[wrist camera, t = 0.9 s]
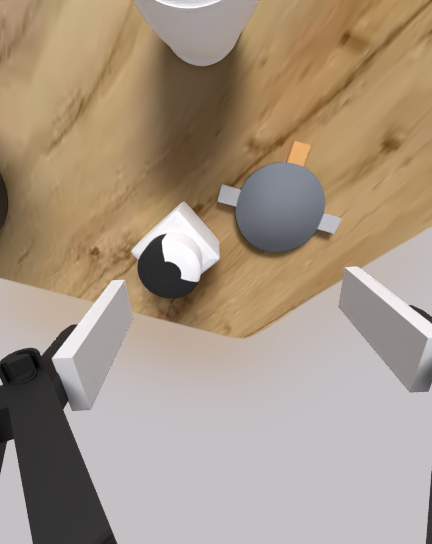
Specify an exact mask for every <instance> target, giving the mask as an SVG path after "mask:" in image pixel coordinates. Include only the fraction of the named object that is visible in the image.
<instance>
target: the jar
mask: <svg viewBox="0 0 432 544" xmlns="http://www.w3.org/2000/svg"><path fill="white" fill-rule="evenodd" d="M133 1H134V3H135V5H136V7H137V9H138V10H139V12H140V14H141V15H142V17H143V18H144V20H145V21H146V22H147V24H148V25H149V26H150V28H151V29H152V30H153V31H154V32H155V33H156V34H157V35H158V36H159V37H160V38H161V39H162V40H163V41H164V42H165V43H166V44H167V45H168V46H170V48H171V49H172V50H173V52H174V53H175V54H176V55H177V56H178V57H179V58H181V59H182V60H183V61H185V62H187V63H189V64H192V65H196V66H208V65H212V64H214V63H217V62H218V61H220V60H222V59H223V58H224V57H225V56H226V55H227V54H228V53H229V52H230V51H231V50H232V49H233V47H234V46H235V44H236V42H237V40H238V38H239V35H240V33H241V32H242V30H243V29H244V27H245V26H246V24H247V23H248V21H249V19H250V18H251V16H252V14H253V12H254V10H255V8H256V6H257V4H258V1H259V0H133Z"/></svg>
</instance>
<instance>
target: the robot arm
mask: <svg viewBox="0 0 432 544" xmlns="http://www.w3.org/2000/svg"><path fill="white" fill-rule="evenodd" d="M6 213H7V194H6V189H5V185H4V182H3V179H2V177H1V175H0V228H1V226H2V224H3V222H4V220H5V217H6ZM339 308H340V309H341V311H342V312H343V313H344V314H345V315H346V317H347V318H348V319H349V320H350V321H351V323H352V324H353V325H354V326H355V327H356V329H357V330H358V331H359V332H360V333H361V335H362V336H363V337H364V338H365V339H366V340H367V342H368V343H369V344H370V345H371V347H372V348H373V349H374V350H375V351H376V353H377V354H378V355H379V356H380V357H381V359H382V360H383V361H384V362H385V363H386V365H387V366H388V367H389V368H390V369H391V370H392V372H393V373H394V374H395V375H396V377H397V378H398V379H399V380H400V381H401V382H402V384H403V385H404V386H405V387H406V388H407V390H408V391H409V392H427V391H429V389H430V386H431V383H432V317H431V316H430V315H429V314H427V313H426V312H424V311H423V310H421V309H419V308H416V307H414V306H412V305H407V304H406V303H404V302H403V301H402V300H400V299H399V298H398V297H397V296H395V295H394V294H393V293H391V292H390V291H389V290H387V289H386V288H385V287H384V286H382V285H381V284H380V283H378V282H377V281H376V280H374V279H373V278H372V277H370V276H369V275H368V274H367V273H365V272H364V271H363V270H361V269H360V268H359V267H345V269H344V275H343V282H342V288H341V294H340V301H339ZM132 320H133V315H132V310H131V305H130V301H129V296H128V291H127V287H126V282H125V280H112V281H111V283H110V284H109V285H108V287H107V288H106V289H105V290H104V292H103V293H102V294H101V296H100V297H99V298H98V299H97V301H96V302H95V303H94V305H93V306H92V307H91V309H90V310H89V311H88V312H87V314H86V315H85V316H84V318H83V319H82V320H81V321H80V323H79V324H77V325H71V326H69V327H68V328H66V329H65V330H64V331H62V332H61V333H60V335H59V336H58V337H57V338H56V340H55V341H54V342H53V343H52V344H51V346H50V347H49V348H48V349H47V350H46V351H45V353H44V354H43V355H42V356H41V355H40V353H39V351H38V350H37V349H34V348H26V349H21V350H18V351H15V352H13V353H11V354H9V355H7V356H6V357H5V358H3V359H2V360H1V361H0V378H1V381H2V383H3V385H1V386H0V472H1V467H2V463H3V458H4V453H5V449H6V444H7V441H9V440H12V439H14V441H15V447H16V452H17V457H18V463H19V469H20V474H21V479H22V486H23V491H24V496H25V502H26V507H27V513H28V519H29V524H30V530H31V535H32V540H33V544H117V542H116V540H115V537H114V534H113V532H112V530H111V527H110V525H109V522H108V520H107V518H106V515H105V512H104V510H103V507H102V505H101V502H100V500H99V498H98V495H97V492H96V490H95V488H94V485H93V483H92V480H91V478H90V475H89V473H88V470H87V468H86V465H85V463H84V460H83V458H82V455H81V453H80V450H79V448H78V446H77V443H76V441H75V438H74V436H73V433H72V431H71V428H70V426H69V423H68V421H67V419H66V416H65V414H64V411H63V409H64V407H65V405H66V404H67V402H69V404H70V407H71V409H72V411H77V410H91V408H92V406H93V404H94V401H95V399H96V397H97V395H98V393H99V391H100V389H101V387H102V384H103V382H104V380H105V378H106V376H107V374H108V371H109V369H110V367H111V365H112V363H113V361H114V358H115V357H116V354H117V352H118V350H119V348H120V346H121V344H122V342H123V339H124V337H125V335H126V333H127V331H128V329H129V327H130V324H131V322H132ZM426 544H432V473H431V486H430V498H429V512H428V524H427V538H426Z"/></svg>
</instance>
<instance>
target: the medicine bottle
mask: <svg viewBox="0 0 432 544" xmlns="http://www.w3.org/2000/svg"><path fill="white" fill-rule="evenodd" d="M131 252H132V254H133V255H134V256H135V257H136V258H137V259H138V260H139V261H138V274H139V278H140V280H141V282H142V283H143V285H144V286H145V287H146V288H147V289H148V290H149V291H150V292H152V293H153V294H155V295H157V296H160V297H163V298H179V297H182V296H185V295H187V294H189V293H190V292H191V291H192V290H193V289H194V288H195V287H196V286H197V284H198V282H199V279H200V275H201V274H202V273H203V272H205V271H206V270H207V269H208V268H210V267H211V266H212V265H213V264H215V263H216V262H217V261H218V260H219V259H220V254H219V240H218V239H217V237H216V236H215V235H214V234H213V233H212V232H211V231H210V229H209V228H208V227H207V226H206V225H205V224H204V223H203V221H202V220H201V219H200V218H199V217H198V216H197V215H196V213H195V212H194V211H193V210H192V209H191V208H190V207H189V205H188V204H187V203H186V202H185V201H183V202H181V203H180V204H179V205H178V206H177V207H175V208H174V209H173V210H172V211H171V212H170V213H169V214H168V215H167V216H166V217H164V218H163V219H162V220H161V221H160V222H159V223H158V224H157V225H156V226H155V227H153V228H152V229H151V230H150V231H149V232H148V233H147V234H146V235H145V236H144V237H143V238H142V239H141V240H140V241H139V243H138V244H137V245H136V246H135V247H134V248H133V249H132V251H131Z"/></svg>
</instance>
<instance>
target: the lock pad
mask: <svg viewBox="0 0 432 544" xmlns="http://www.w3.org/2000/svg"><path fill="white" fill-rule="evenodd" d="M310 147H311V146H310V145H307V144H304V143H301V142H297V141H293V143H292V146H291V149H290V152H289V155H288V158H287V161H286V162H279V163H272V164H269V165H266V166H264V167H262V168H260V169H258V170H257V171H255V172H254V173H253V174H252V175H250V176H249V177H248V179H247V180H246V181H245V182H244V184H243V185H242V187H241V189H237V188H233V187H230V186H226V185H223V184H222V185H221V189H220V192H219V196H218V200H217V202H221V203H224V204H228V205H232V206H235V214H236V220H237V223H238V226H239V229H240V231H241V233H242V234H243V236H244V237H245V238H246V239H247V241H249V242H250V243H251V244H252V245H254V246H255V247H257V248H259V249H261V250H264V251H269V252H284V251H288V250H292V249H294V248H296V247H298V246H300V245H302V244H303V243H305V242H306V241H307V240H308V239H309V238H310V237H311V236H312V235H313V234H314V233H315V232H316V230H317V229H319V230H323V231H326V232H330V233H334V234H335V232H336V229H337V227H338V225H339V223H340V221H341V218H339V217H336V216H333V215H329V214H326V213H324V210H325V197H324V192H323V189H322V186H321V184H320V182H319V181H318V179H317V178H316V176H315V175H314V174H313V173H312V172H310V171H309V170H308V169H306V168H305V167H303V166H304V163H305V160H306V158H307V155H308V152H309V150H310Z"/></svg>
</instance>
